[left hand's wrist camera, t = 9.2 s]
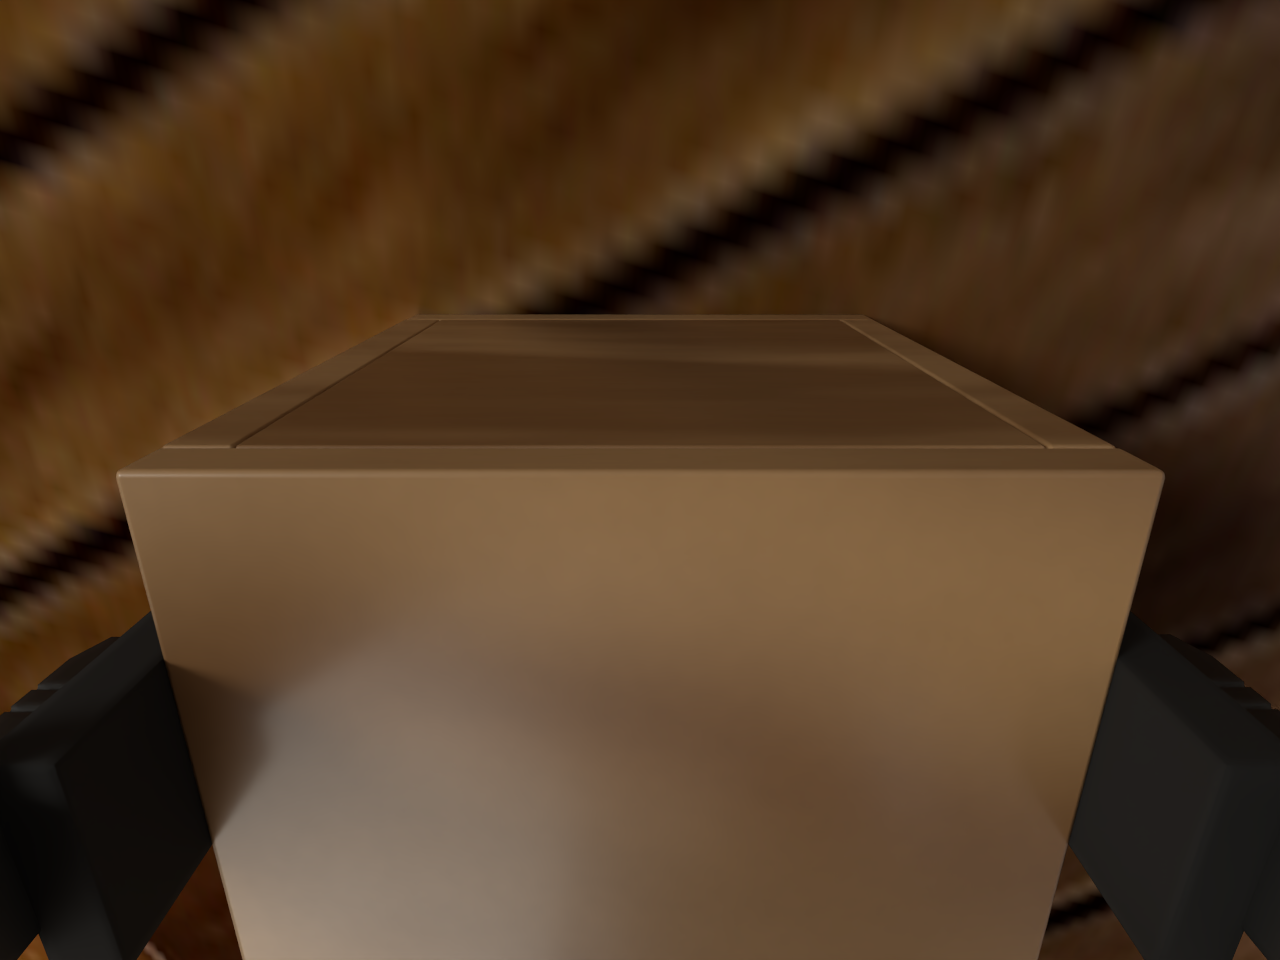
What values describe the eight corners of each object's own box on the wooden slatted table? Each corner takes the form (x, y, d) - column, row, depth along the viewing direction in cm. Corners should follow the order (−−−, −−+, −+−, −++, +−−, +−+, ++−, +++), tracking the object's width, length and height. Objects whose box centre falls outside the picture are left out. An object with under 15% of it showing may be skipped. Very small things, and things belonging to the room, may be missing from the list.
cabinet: (802, 920, 25) (915, 1429, 14) (477, 921, 25) (364, 1429, 14) (866, 314, 18) (1171, 471, 8) (414, 313, 18) (110, 471, 7)
